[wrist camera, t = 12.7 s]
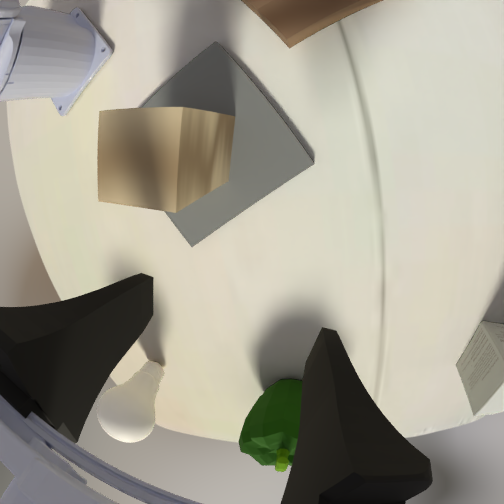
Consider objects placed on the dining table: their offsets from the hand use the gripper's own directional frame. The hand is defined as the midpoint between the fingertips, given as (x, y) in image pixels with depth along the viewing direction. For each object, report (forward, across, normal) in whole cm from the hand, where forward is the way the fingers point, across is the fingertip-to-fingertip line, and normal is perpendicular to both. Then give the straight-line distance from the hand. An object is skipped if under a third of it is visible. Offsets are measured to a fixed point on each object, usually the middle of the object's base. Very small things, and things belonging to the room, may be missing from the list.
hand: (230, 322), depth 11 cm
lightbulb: (+11, +9, +19) cm, 23 cm away
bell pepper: (+11, -7, +17) cm, 21 cm away
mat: (+10, +6, -5) cm, 13 cm away
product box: (+11, -25, +5) cm, 28 cm away
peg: (+10, +6, -5) cm, 13 cm away
